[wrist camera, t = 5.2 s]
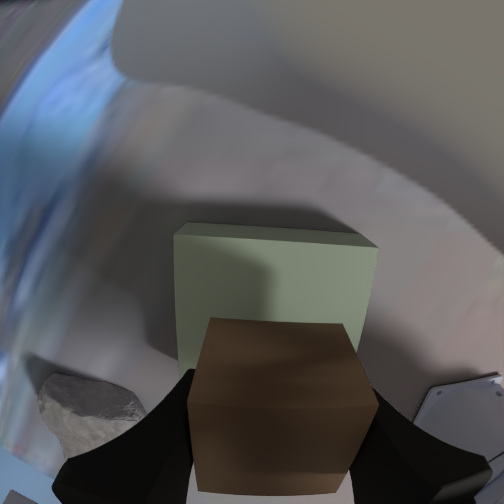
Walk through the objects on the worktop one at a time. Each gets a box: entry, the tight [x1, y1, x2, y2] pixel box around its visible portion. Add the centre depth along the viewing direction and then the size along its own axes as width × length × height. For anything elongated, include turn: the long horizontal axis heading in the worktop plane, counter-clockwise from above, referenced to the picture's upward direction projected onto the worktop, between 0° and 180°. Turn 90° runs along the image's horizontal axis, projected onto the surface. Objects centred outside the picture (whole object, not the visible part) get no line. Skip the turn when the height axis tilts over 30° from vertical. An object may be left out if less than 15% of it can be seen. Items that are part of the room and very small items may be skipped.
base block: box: [173, 222, 379, 379], centre depth 17 cm, size 10×10×3 cm
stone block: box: [37, 373, 148, 460], centre depth 22 cm, size 12×5×10 cm
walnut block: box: [187, 317, 379, 496], centre depth 11 cm, size 6×6×5 cm
